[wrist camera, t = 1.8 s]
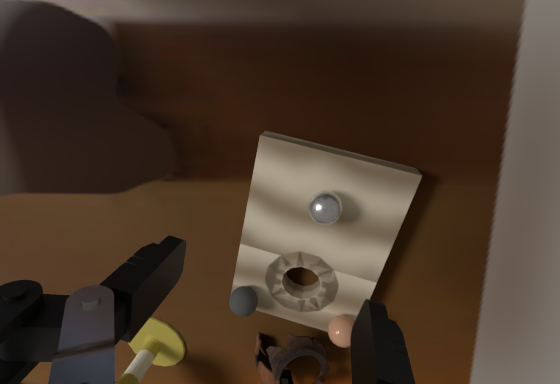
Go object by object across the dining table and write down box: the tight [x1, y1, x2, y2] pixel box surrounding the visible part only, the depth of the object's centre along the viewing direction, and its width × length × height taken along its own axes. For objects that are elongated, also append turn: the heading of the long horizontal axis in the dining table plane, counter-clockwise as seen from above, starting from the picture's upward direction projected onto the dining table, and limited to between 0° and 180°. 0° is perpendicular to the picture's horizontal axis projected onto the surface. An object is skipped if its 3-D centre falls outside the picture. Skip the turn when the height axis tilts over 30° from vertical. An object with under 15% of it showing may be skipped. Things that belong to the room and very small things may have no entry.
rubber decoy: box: [229, 286, 258, 317], centre depth 36 cm, size 3×3×3 cm
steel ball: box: [308, 190, 343, 225], centre depth 29 cm, size 3×3×3 cm
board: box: [231, 131, 422, 332], centre depth 34 cm, size 22×16×2 cm
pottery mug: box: [255, 333, 328, 384], centre depth 41 cm, size 12×10×8 cm
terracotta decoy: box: [328, 315, 354, 348], centre depth 35 cm, size 3×3×3 cm
